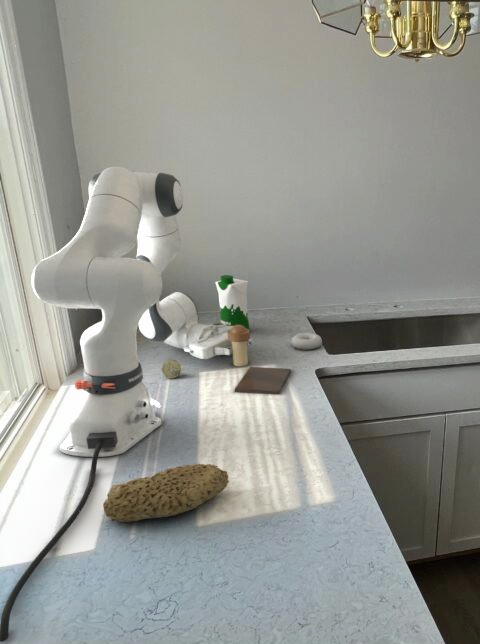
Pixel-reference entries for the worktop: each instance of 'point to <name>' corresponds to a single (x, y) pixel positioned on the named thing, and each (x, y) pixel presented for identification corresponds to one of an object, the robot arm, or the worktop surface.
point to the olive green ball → (171, 369)
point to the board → (263, 380)
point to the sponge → (165, 493)
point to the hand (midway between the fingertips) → (241, 347)
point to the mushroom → (239, 344)
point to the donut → (306, 341)
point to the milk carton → (233, 301)
